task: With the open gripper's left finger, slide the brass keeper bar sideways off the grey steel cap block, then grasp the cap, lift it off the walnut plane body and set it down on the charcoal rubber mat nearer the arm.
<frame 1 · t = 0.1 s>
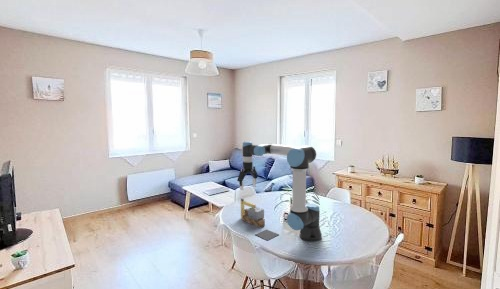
hand: (248, 188, 210), 28 cm above the table, fingers open, 13 cm apart
cap: (255, 217, 208), point 5 cm above the table, touching plane body
plane body: (253, 222, 211), on the table
mat: (267, 235, 189), on the table
keeper: (248, 210, 214), point 8 cm above the table, slide at 0.0 cm
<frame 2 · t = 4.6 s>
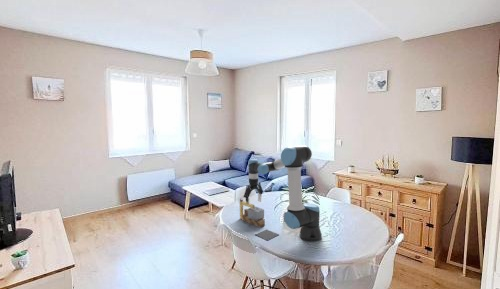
hand: (253, 203, 218), 13 cm above the table, fingers open, 13 cm apart
keeper: (246, 211, 213), point 8 cm above the table, slide at 1.2 cm, touching gripper
everything else where it was.
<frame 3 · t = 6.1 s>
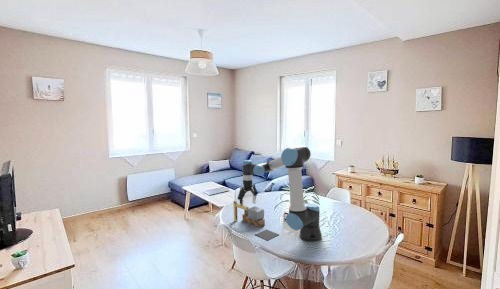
hand: (248, 205, 214), 13 cm above the table, fingers open, 13 cm apart
keeper: (241, 213, 209), point 8 cm above the table, slide at 7.7 cm, touching gripper
everything else where it was.
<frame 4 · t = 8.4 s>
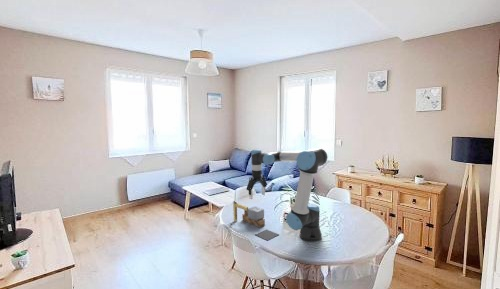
hand: (257, 196, 205), 22 cm above the table, fingers open, 13 cm apart
keeper: (240, 213, 209), point 8 cm above the table, slide at 7.9 cm
everything else where it was.
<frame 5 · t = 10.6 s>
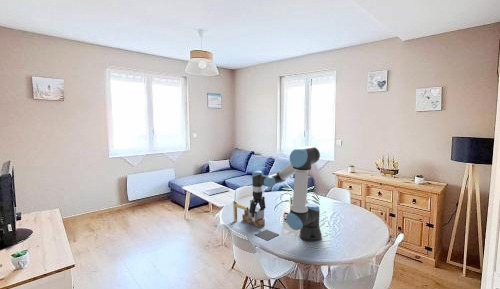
hand: (257, 219, 207), 4 cm above the table, fingers closed on cap, 8 cm apart
cap: (255, 217, 208), point 5 cm above the table, touching gripper, plane body
everything else where it was.
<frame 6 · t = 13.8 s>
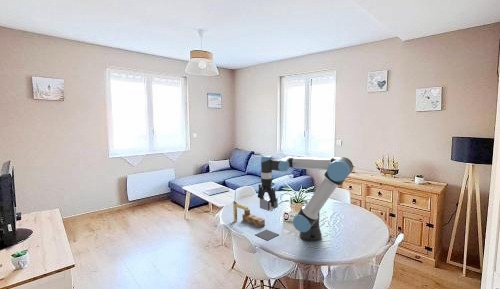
hand: (266, 209, 187), 19 cm above the table, fingers closed on cap, 8 cm apart
cap: (268, 207, 189), point 20 cm above the table, touching gripper
everything else where it was.
when the fingers open (2 cm above the table, at t = 17.1 s): cap drops 3 cm, resting on mat.
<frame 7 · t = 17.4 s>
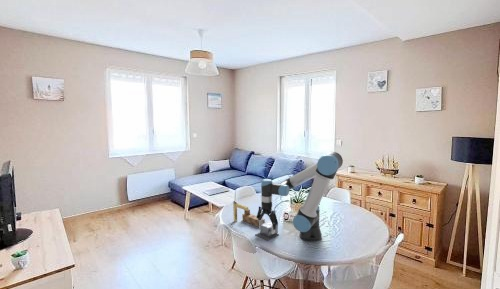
hand: (267, 230, 189), 3 cm above the table, fingers open, 11 cm apart
cap: (269, 233, 191), resting on mat
everything else where it was.
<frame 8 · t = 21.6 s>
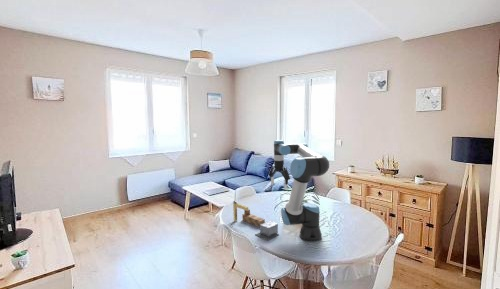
hand: (278, 186, 209), 29 cm above the table, fingers open, 13 cm apart
nothing on the table moved.
at the end: keeper slide at 7.9 cm; cap inside the target area on the mat (2.0 cm from its centre), point 0.4 cm above the mat's base; cap tilted 0° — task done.
